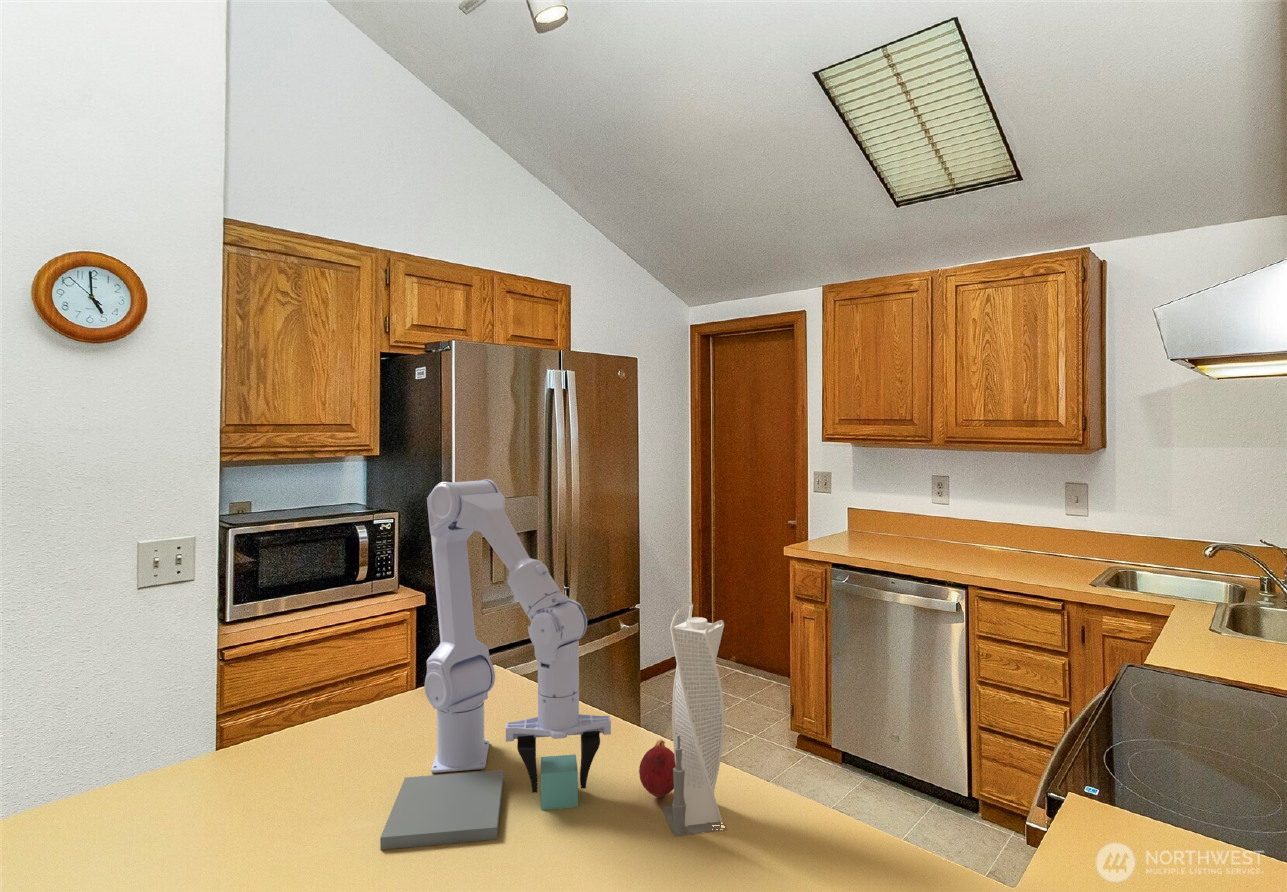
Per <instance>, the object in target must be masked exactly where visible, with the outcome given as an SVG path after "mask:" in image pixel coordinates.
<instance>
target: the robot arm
mask: <svg viewBox="0 0 1287 892" xmlns="http://www.w3.org/2000/svg"><path fill="white" fill-rule="evenodd" d="M426 504H427V505H426V506H427V513H428V514H427V515H428V526H429V533H430V538H431V539H430V540H431V541H430V542H431V550H432V551H431V552H432V562H433V571H434V573H433V574H434V582H435V583H434V584H435V595H436V606H437V617H438V631H439V639H440V640H439V641H440V643H439V644H438V646H437V647H436V648H435V650H434V651H433V652H432V653H431V655H430V656H429V657H428V658H427V660H426V675H425V678H424V694H425V696H426V698H427V701H428V703H429V704H430V705H431V706H432V709H435V710H436V753H435V757H434V759H433V763H432V766H431V770H430V772H431V773H447V772H458V771H459V772H460V771H473V770H483V769H486V765H487V759H488V752H489V747H490V739H485V701H486V700H488V698H489V693H488V692H490V691H491V690H492V689H493V688H494V685H495V681H496V670H495V667H494V664H493V662H492V660H491V658H490V652H489V650H490V649H489V647H488V646H487V645H486V644H485V643H483V642H482V641H480V640H478V639H477V637H476V627H475V618H474V606H473V597H472V595H473V594H472V584H471V583H472V582H471V574H470V573H471V572H470V563H469V554H468V553H469V552H468V539H469V538H470V537H471V535H472V534H473V533H474V532H478V533H481V535H482V536H483V537H484V538H485V540H486V541H487V542H488V544H489V545H490V546H491V548H492V549H493V551H494V552H495V553H496V555H497V556H498V558H499V559H500V560H501V562H502V563H503V565H505V566H506V568H507V570H508V576H507V585H508V586H509V588H510V590H511V591H512V593H513V595H514V596H515V598H516V600H517V601H518V603H519V605H520V606H521V608H522V610H523V611H524V613H525V614H526V616H527V618H528V619H529V621H530V625H528V626H527V632H528V636H529V640H530V641H531V643H532V645H533V648H534V657H535V659H536V661H537V716H536V717H531V718H524V719H522V720H515V721H507V722H506V723H505V724H506V725H505V742H506V743H507V742H508V743H510V742H513V741H514V740H517V742H516V743H517V744H516V745H517V746H516V747H517V748H516V749H517V751H518V754H519V756H520V758H521V760H522V761H523V764H524V766H525V768H526V770H527V774H528V777H529V780H530V784H531V793H533V794H536V793H538V771H537V768H538V767H537V738H549V737H551V739H555V740H558V739H566V738H567V737H568V736H576V735H578V736H579V735H580V757H581V758H580V767H579V783H580V789H583V790H584V789H587V781H588V776H589V772H590V769H591V765H592V763H593V760H594V758H595V756H596V753H597V752H598V750H599V747H600V745H601V735H600V734H602V735H604V736H607V735H611V734H612V721H611V717H610V715H593V714H582V713H581V714H580V672H579V671H580V667H579V666H580V664H579V663H580V661H579V660H580V655H579V654H580V651H579V649H580V647H579V646H580V645H579V643H580V641H579V640H580V639H582V638H583V637H584V636H585V634H586V632H587V629H588V619H587V615H586V612H585V611H584V608H583V606H582V604H581V603H579V602H578V601H577V600H574V599H571V598H569V596H568V595H567V594H563V592H562V591H561V589H560V588H559V586H558V585H557V583H556V581H555V580H554V578H553V577H552V575H551V573H550V572H549V571H550V570H549V568H548V567H547V565H546V564H545V563H543V561H541V560H539V559H534V558H532V557H530V556H529V554H528V552H527V550H526V549H525V546H524V545H523V543H522V541H521V539H520V537H519V535H518V534H517V532H516V529H515V528H514V526H513V524H512V522H511V520H510V519H509V516H508V515H507V513H506V511H505V506H506V497H505V495H503V494H502V492H501V490H500V488H499V486H498V485H497V483H496V482H495V481H493V480H491V479H487V478H485V479H481V480H469V481H453V482H450V481H441V482H439V483H438V484H435V486H434V488H433V489H432V490H431V492H430V493H429V494H428V497H427V498H426Z"/></svg>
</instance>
